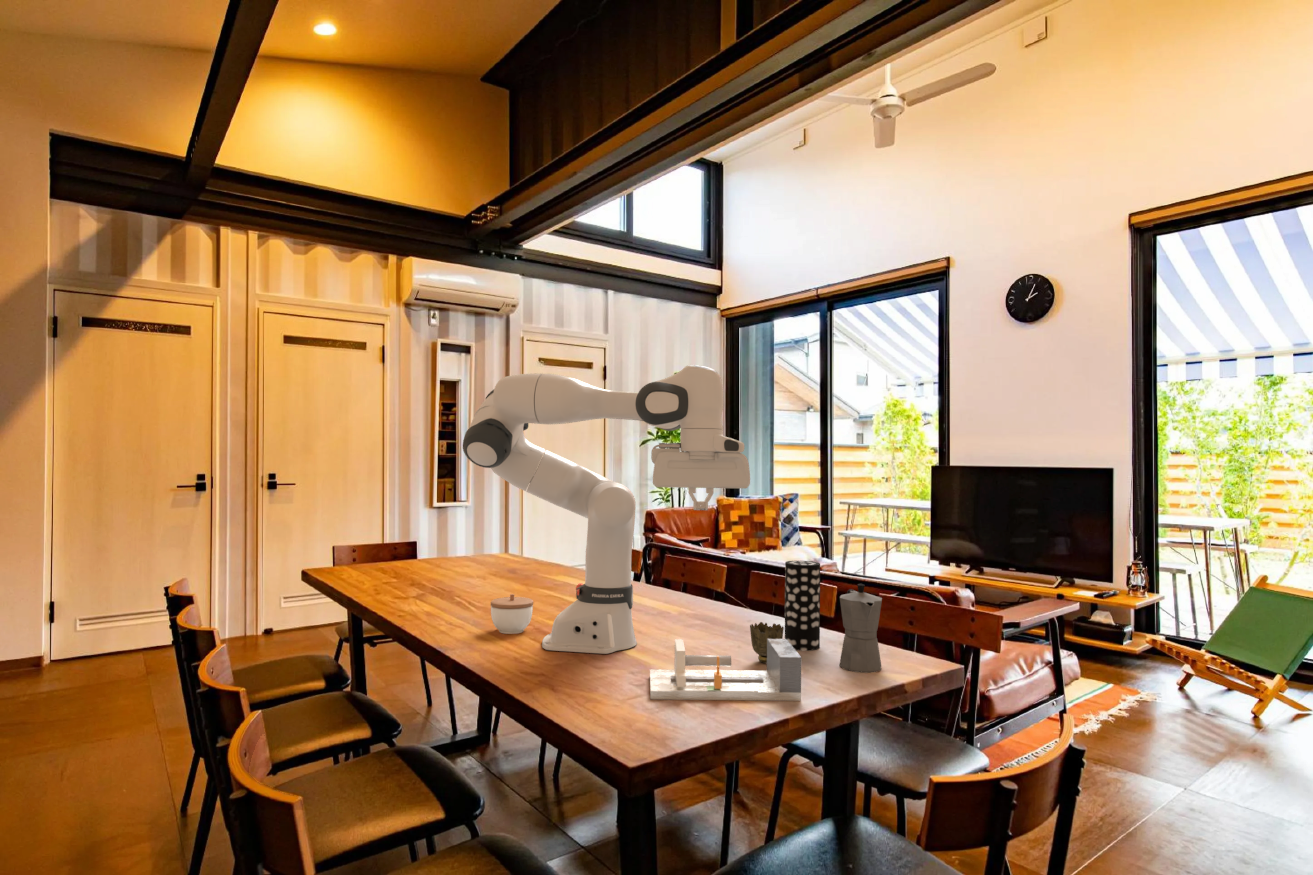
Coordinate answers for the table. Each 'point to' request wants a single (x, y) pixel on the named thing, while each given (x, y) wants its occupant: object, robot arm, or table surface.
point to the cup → (764, 638)
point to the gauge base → (737, 680)
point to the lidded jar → (511, 614)
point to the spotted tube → (802, 604)
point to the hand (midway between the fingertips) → (700, 510)
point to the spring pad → (693, 662)
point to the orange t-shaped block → (717, 677)
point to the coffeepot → (860, 631)
